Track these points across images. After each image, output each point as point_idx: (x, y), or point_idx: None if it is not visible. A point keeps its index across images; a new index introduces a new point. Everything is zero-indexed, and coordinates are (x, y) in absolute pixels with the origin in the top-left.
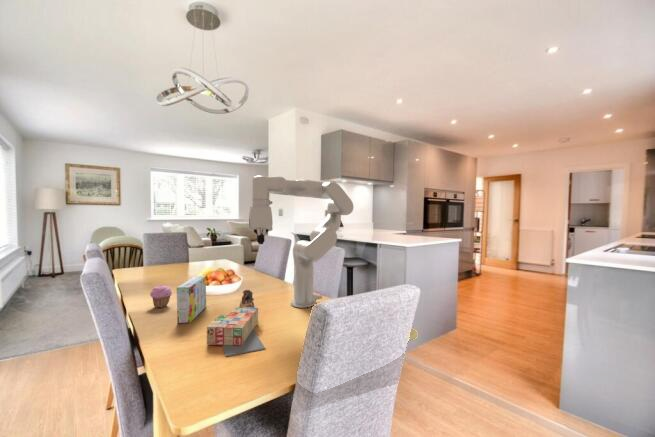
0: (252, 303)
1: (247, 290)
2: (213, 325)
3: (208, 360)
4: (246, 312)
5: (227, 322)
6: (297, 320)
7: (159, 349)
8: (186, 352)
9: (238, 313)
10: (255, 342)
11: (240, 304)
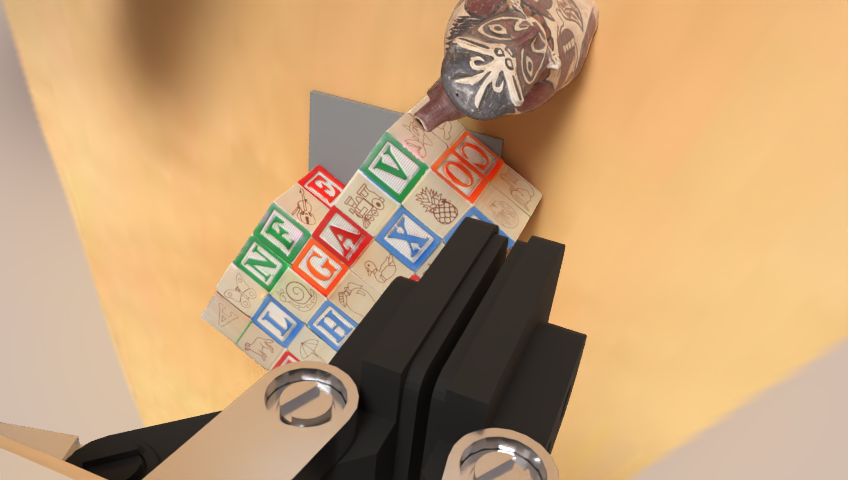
0: (527, 111)
1: (460, 106)
2: (227, 322)
3: (252, 370)
4: (414, 271)
5: (290, 329)
6: (808, 311)
7: (92, 173)
8: (184, 266)
9: (368, 251)
10: None
11: (444, 49)
